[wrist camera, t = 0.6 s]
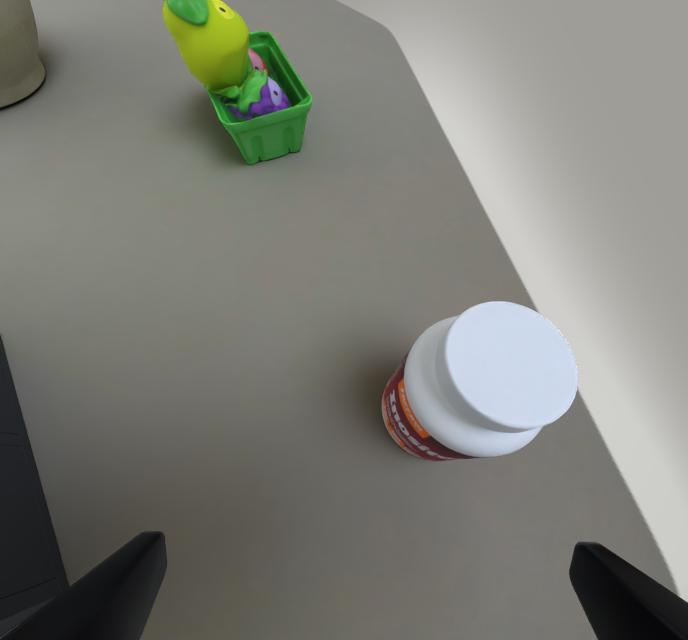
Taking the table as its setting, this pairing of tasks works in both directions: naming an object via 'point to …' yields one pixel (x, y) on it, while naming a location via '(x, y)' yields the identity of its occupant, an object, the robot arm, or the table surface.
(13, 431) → the tray
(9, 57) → the planter bowl
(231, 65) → the fruit basket
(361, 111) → the table surface
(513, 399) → the pill bottle
